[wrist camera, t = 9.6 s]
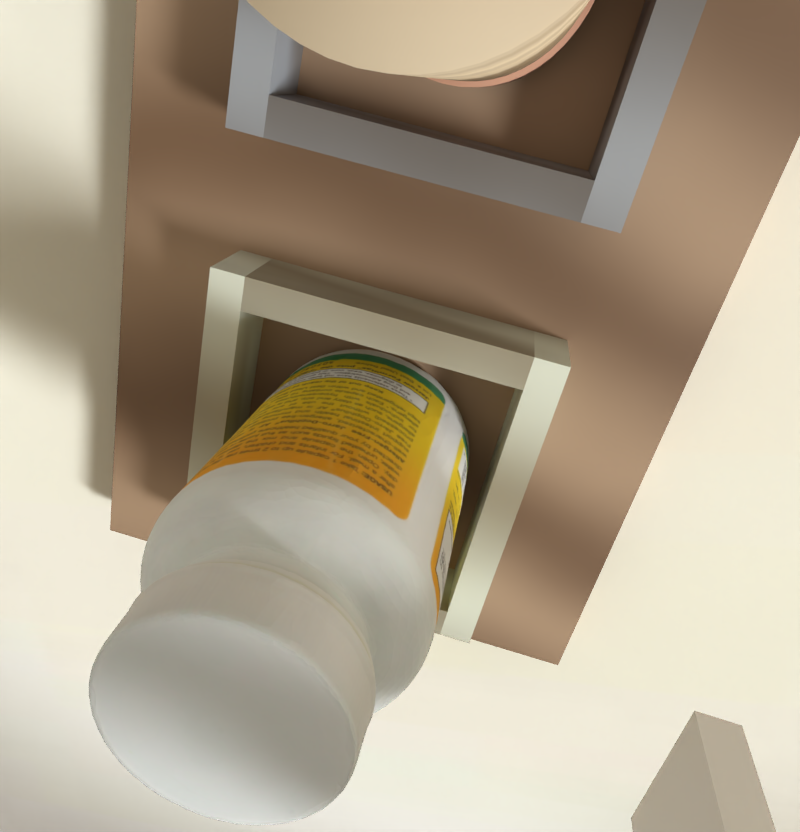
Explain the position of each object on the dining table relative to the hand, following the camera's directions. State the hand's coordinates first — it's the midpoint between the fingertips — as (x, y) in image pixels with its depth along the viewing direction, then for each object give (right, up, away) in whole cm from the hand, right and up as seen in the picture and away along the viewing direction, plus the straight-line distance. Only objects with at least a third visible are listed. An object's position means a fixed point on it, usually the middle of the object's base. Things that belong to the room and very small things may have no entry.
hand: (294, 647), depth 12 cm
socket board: (+2, +9, +5) cm, 10 cm away
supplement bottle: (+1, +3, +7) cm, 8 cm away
